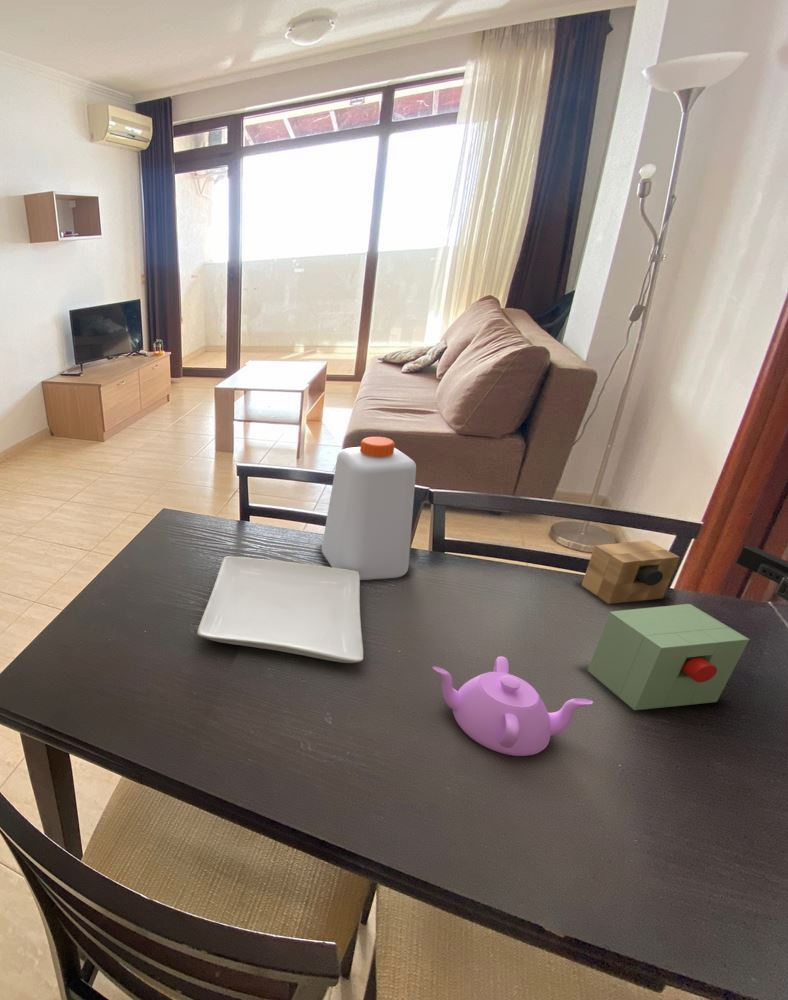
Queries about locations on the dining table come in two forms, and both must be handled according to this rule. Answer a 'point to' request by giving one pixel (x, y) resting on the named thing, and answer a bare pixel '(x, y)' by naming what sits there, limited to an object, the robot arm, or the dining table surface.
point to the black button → (650, 576)
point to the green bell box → (664, 655)
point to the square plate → (286, 608)
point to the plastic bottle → (371, 510)
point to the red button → (699, 670)
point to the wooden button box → (628, 571)
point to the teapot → (505, 711)
